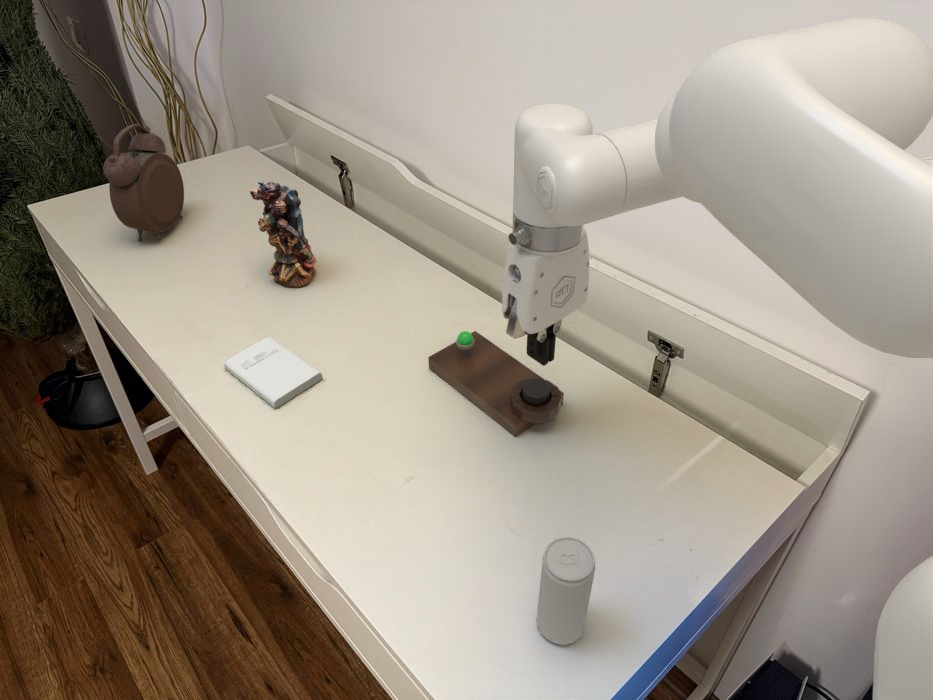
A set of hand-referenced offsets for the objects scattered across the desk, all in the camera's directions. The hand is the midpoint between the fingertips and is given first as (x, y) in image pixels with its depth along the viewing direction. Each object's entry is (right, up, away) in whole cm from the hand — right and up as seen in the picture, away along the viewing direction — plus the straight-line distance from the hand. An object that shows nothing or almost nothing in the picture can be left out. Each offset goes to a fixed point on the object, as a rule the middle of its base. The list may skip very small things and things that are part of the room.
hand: (540, 357), depth 86 cm
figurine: (-39, +13, +33) cm, 53 cm away
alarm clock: (-67, +24, +46) cm, 85 cm away
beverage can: (0, -27, -15) cm, 31 cm away
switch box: (-5, -5, +11) cm, 13 cm away
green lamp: (-9, +2, +13) cm, 16 cm away
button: (0, -5, +5) cm, 7 cm away
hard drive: (-37, -3, +15) cm, 40 cm away
